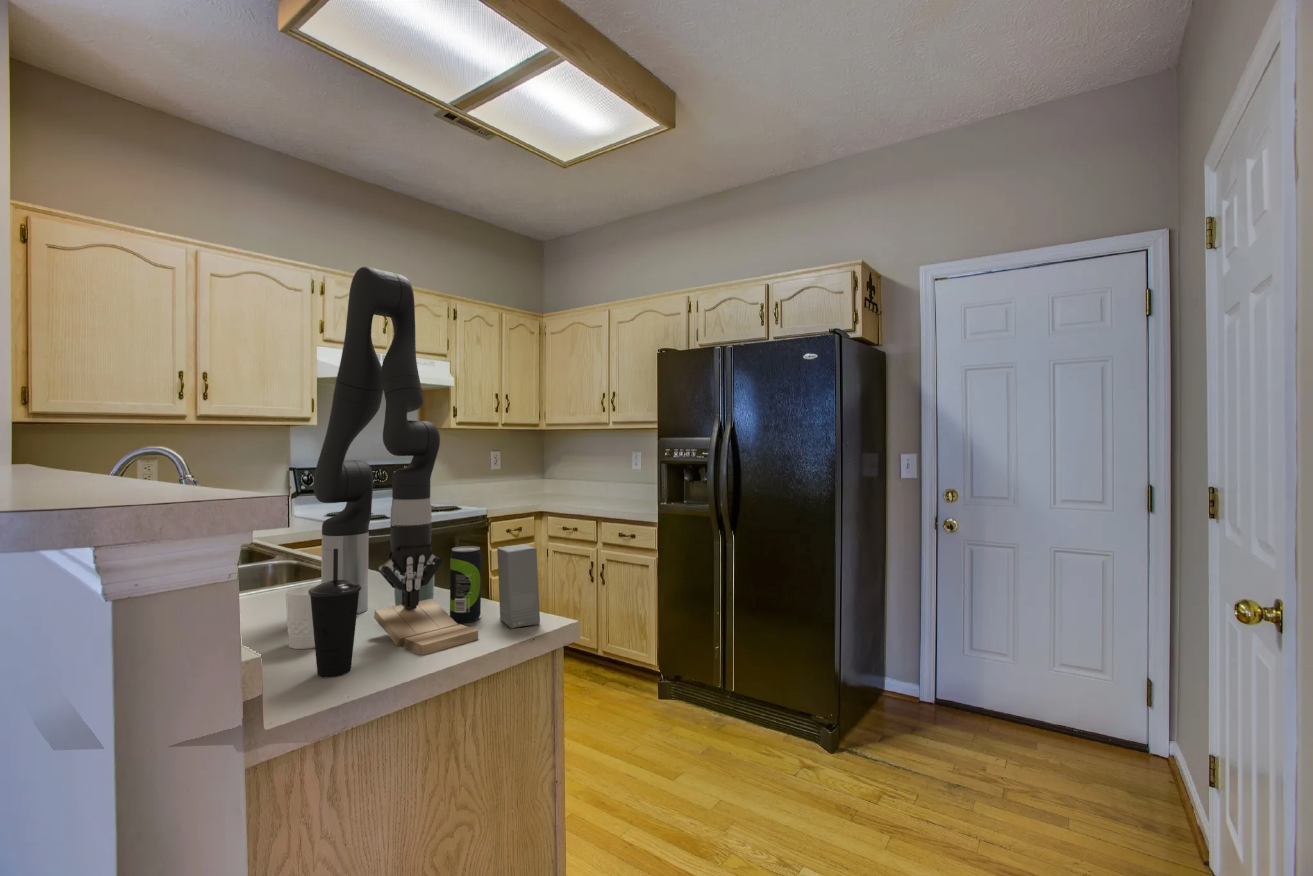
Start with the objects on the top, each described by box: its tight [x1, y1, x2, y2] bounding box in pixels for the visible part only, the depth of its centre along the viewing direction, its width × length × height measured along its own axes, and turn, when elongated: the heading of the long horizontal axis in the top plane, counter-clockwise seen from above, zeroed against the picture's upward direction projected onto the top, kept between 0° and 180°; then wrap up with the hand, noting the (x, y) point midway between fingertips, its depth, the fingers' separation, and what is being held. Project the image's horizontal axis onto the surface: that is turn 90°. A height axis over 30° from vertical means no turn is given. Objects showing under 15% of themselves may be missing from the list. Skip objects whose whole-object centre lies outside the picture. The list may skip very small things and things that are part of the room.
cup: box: [393, 566, 435, 606], centre depth 132 cm, size 8×8×10 cm
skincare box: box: [496, 543, 541, 629], centre depth 129 cm, size 8×7×16 cm
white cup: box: [285, 584, 318, 650], centre depth 114 cm, size 8×8×10 cm
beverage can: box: [449, 545, 482, 624], centre depth 130 cm, size 6×6×15 cm
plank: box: [373, 598, 459, 647], centre depth 120 cm, size 10×12×2 cm
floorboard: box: [401, 623, 479, 656], centre depth 115 cm, size 7×12×2 cm, turn 140°
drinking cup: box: [308, 549, 361, 679], centre depth 100 cm, size 8×8×20 cm
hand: (410, 608), depth 121 cm, fingers closed
